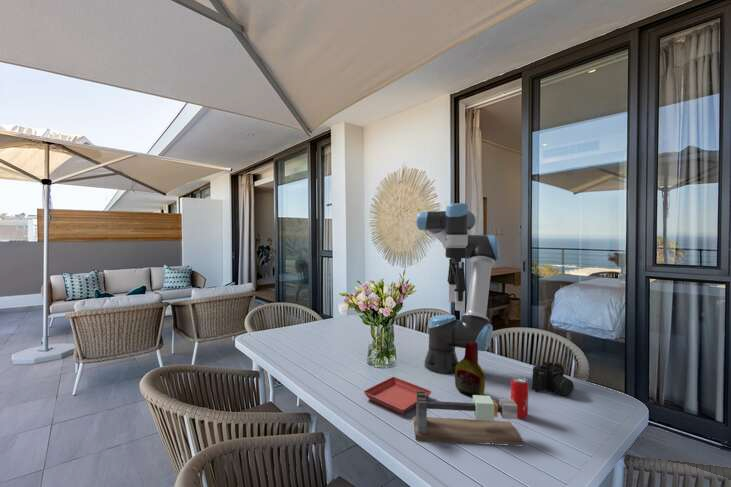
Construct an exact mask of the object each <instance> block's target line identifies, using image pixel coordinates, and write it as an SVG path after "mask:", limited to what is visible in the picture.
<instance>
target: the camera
mask: <svg viewBox="0 0 731 487" xmlns="http://www.w3.org/2000/svg"><path fill="white" fill-rule="evenodd" d="M564 369H565V368H564V366H563V364H562V363H560V362H559V361H556V362H554V363H553V362H551V361H544V362H543V364H541V363H538V365H536V366H533V368H532V376H531V377H532V378H531V379H532V380H531V381H532V382H531V384H532V385H531V388H532V391H534V390H535V391H534V392H536V393H539V391H540V392H543V391H549V392H553V391H555V392H556V393H558V394H561V395H563V396H568V397H569V396H570V395H571V394H572V393H573V392H574V389H575V384H574V382H573V381H572V380H571V379H570V378H568V377H566V376H564V375H565V373H564Z"/></svg>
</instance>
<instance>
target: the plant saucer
mask: <svg viewBox="0 0 731 487" xmlns="http://www.w3.org/2000/svg"><path fill="white" fill-rule="evenodd" d="M417 390H424V391H425V398H426V399H427V398H428V397H429V396H430V395H431V394H432V390H430V389H428V388H424V387H422V386H419V385H416V384H414V383H411V382H409V381H406V380H403V379H400V378H399V377H395V376H391V377H389V378H388V379H386V380H384V381H382V382H379V383H377V384H375V385H374V386H373V385H372V386H371V387H369V388H367V389H365V390H364V391H363V394H364V395H365V396H366V397H367V398H368V399H369V400H370V401H372V402H375V403H377V404H379V405H381V406H383V407H385V408H387V409H390V410H392V411H394V412H396V413H397V414H405V413H406V412H407V411H409V410H411V409H412V408H413V407H416V406H417Z"/></svg>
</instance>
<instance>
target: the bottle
mask: <svg viewBox="0 0 731 487" xmlns="http://www.w3.org/2000/svg"><path fill="white" fill-rule="evenodd" d="M464 349H465V350H464V355H463V358H462V359H460V361H458V363H457V364H456V368H455V372H454V385H455V388H456V389H457V391H458V392H460V393H463V394H465V395H467V396H469V397H472V398H473V395H482V396H484V393H485V387H486V386H485V385H486V375H485V372H484V369H483V368H482V366H481V365H480V364H479V358H478V356H479V353H478V352H479V351H478V343H476V342H475V341H468V342H467V343H466V346H465V348H464Z"/></svg>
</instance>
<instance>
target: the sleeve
mask: <svg viewBox="0 0 731 487" xmlns="http://www.w3.org/2000/svg"><path fill="white" fill-rule="evenodd" d="M492 400H493V399H492V397H491V396H490V395H483V396H482V395H473V397H472V403H475V405H476V411H472V413H473V415H474V417H475V420H486V421H495V417H494V403H493V401H492Z"/></svg>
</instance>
